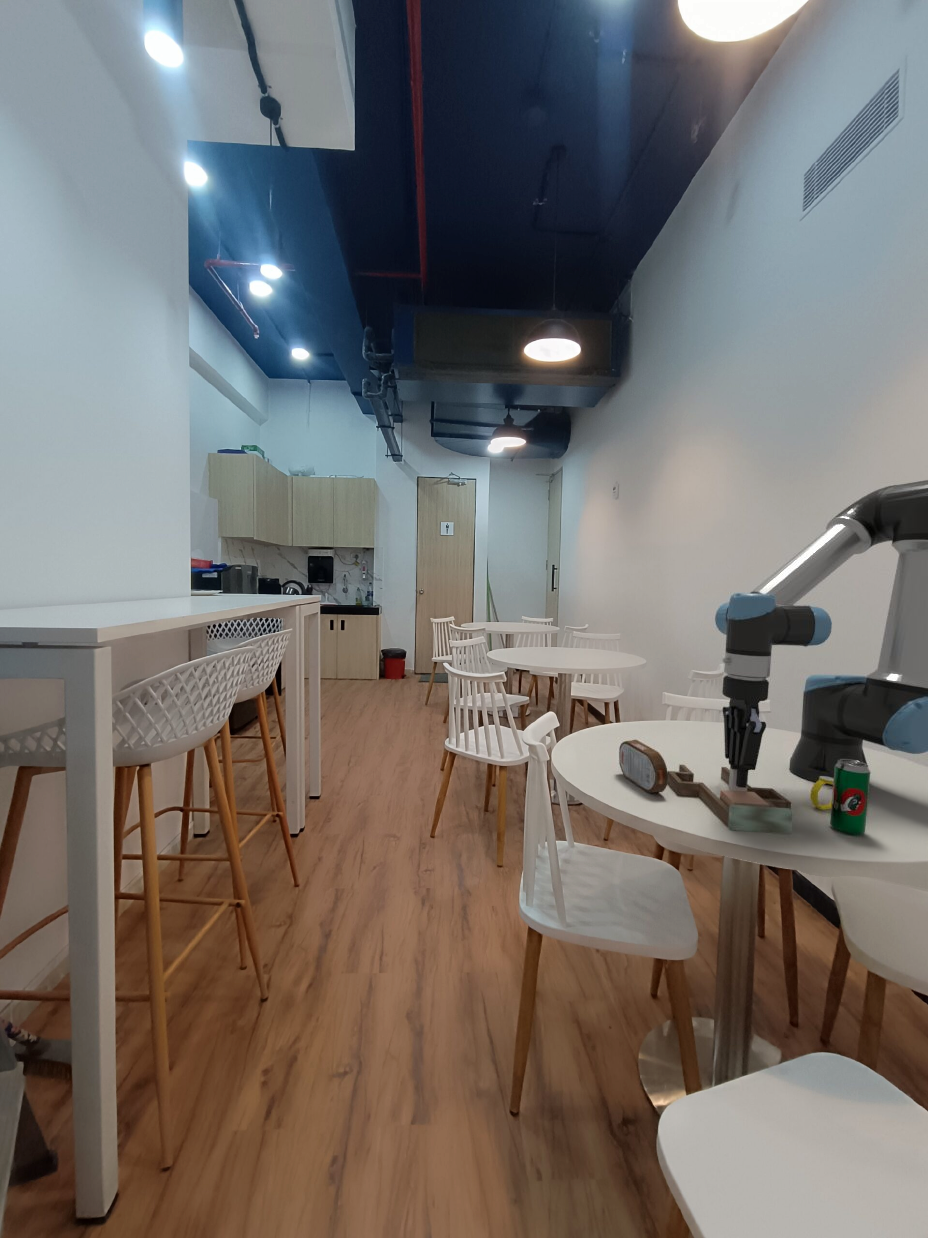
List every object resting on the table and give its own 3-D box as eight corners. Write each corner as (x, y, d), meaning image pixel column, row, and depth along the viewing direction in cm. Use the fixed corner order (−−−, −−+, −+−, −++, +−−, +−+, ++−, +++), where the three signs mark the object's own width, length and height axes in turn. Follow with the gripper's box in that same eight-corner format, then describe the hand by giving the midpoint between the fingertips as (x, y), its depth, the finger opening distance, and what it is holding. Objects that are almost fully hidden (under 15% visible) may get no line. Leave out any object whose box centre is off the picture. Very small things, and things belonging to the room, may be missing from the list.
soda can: (872, 835, 95) (878, 766, 94) (849, 838, 93) (855, 768, 93) (844, 823, 100) (850, 757, 99) (822, 825, 98) (828, 758, 97)
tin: (668, 798, 108) (670, 756, 107) (653, 799, 107) (656, 756, 107) (628, 772, 123) (630, 735, 122) (615, 773, 122) (617, 735, 121)
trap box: (744, 779, 121) (745, 761, 121) (815, 835, 94) (817, 812, 94) (660, 774, 122) (661, 756, 122) (706, 828, 95) (707, 805, 95)
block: (752, 813, 103) (753, 792, 103) (767, 827, 97) (769, 804, 97) (719, 810, 103) (720, 789, 103) (732, 824, 97) (734, 802, 97)
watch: (830, 806, 108) (834, 776, 108) (843, 811, 106) (847, 781, 105) (805, 805, 107) (809, 775, 107) (817, 811, 104) (822, 780, 104)
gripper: (711, 670, 109) (703, 788, 111) (740, 682, 96) (730, 815, 98) (750, 672, 109) (742, 790, 110) (785, 684, 96) (774, 817, 97)
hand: (736, 801), depth 104 cm, fingers closed
